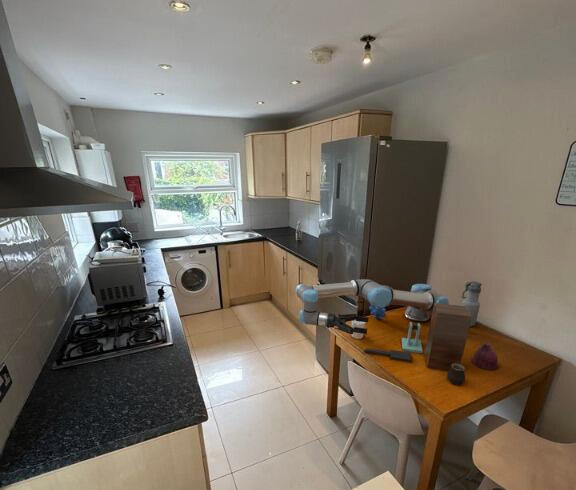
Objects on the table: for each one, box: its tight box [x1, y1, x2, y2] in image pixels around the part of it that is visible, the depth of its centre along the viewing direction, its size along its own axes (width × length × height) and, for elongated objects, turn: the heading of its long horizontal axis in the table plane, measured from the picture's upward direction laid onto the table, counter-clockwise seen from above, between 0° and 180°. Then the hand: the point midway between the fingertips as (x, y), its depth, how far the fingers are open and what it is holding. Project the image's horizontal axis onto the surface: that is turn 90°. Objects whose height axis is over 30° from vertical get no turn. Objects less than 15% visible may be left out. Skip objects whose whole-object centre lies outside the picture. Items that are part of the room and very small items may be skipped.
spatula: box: [364, 347, 412, 363], centre depth 160 cm, size 7×23×2 cm, turn 73°
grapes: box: [368, 303, 387, 320], centre depth 198 cm, size 12×7×12 cm, turn 53°
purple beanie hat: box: [471, 341, 498, 371], centre depth 149 cm, size 10×10×15 cm
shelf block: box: [424, 303, 472, 372], centre depth 148 cm, size 12×14×30 cm
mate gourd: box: [446, 364, 466, 385], centre depth 137 cm, size 7×8×10 cm
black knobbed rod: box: [412, 323, 418, 331], centre depth 170 cm, size 15×4×4 cm, turn 163°
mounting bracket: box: [401, 321, 424, 354], centre depth 166 cm, size 12×10×14 cm
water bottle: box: [461, 280, 483, 327], centre depth 190 cm, size 10×10×28 cm
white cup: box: [351, 320, 367, 340], centre depth 177 cm, size 8×8×10 cm
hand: (367, 325), depth 158 cm, fingers open, 13 cm apart
